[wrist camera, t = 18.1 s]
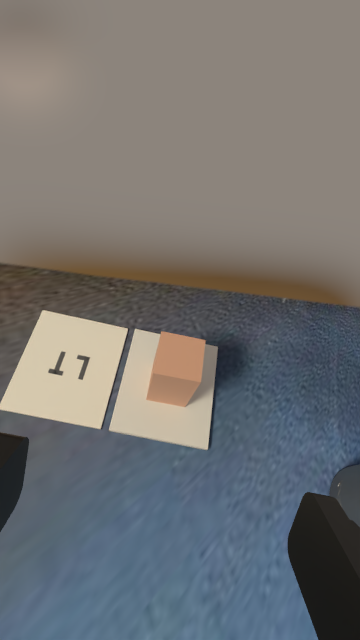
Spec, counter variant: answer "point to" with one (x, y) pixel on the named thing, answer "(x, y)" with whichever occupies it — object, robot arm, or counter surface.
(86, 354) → the cream tile
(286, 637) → the counter surface
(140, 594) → the counter surface
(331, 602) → the robot arm
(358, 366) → the counter surface
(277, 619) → the counter surface
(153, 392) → the block
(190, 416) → the beige board
